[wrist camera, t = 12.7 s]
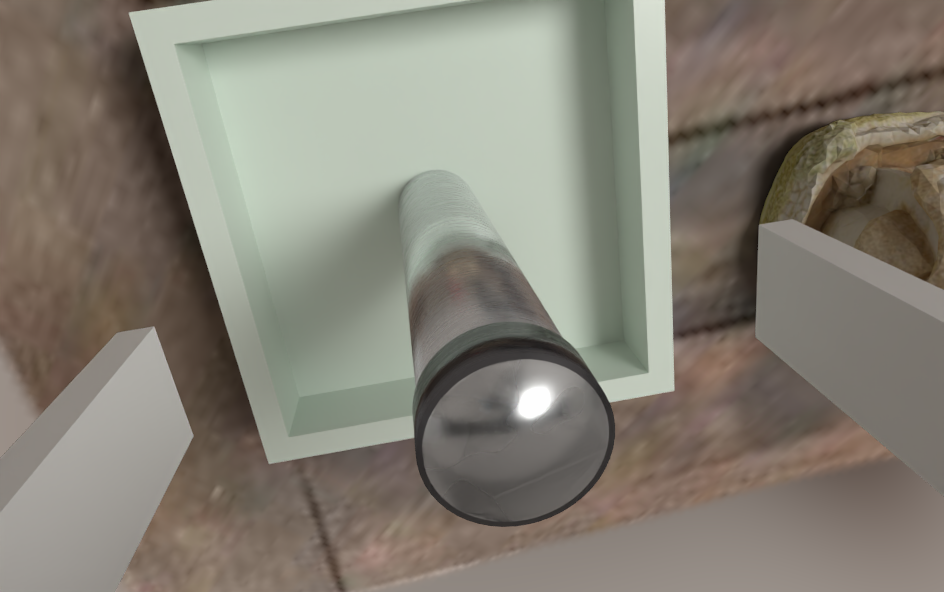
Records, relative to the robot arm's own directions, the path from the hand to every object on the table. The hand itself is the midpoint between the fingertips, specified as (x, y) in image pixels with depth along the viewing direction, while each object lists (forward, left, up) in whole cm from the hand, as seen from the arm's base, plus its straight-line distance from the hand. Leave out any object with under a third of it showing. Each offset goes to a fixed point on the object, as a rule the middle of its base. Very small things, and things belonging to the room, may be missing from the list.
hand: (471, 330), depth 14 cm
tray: (0, 0, -13) cm, 13 cm away
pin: (0, 0, -12) cm, 12 cm away
